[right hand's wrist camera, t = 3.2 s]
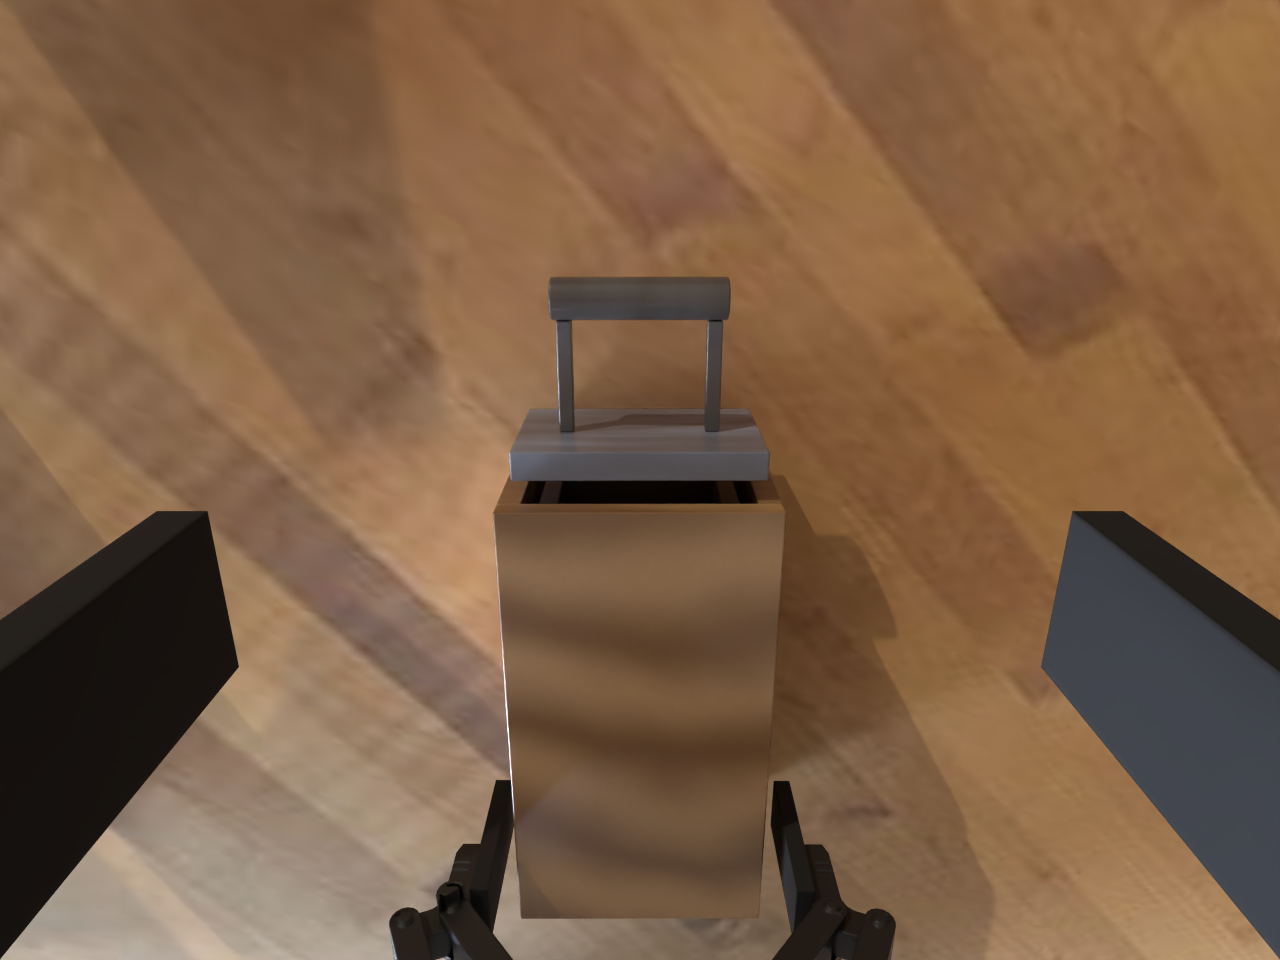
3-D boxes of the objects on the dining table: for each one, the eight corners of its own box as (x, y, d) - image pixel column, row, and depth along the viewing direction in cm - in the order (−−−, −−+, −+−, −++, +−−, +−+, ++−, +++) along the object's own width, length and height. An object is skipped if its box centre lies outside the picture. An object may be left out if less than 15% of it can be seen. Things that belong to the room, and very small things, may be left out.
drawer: (522, 267, 35) (498, 286, 29) (756, 267, 35) (779, 286, 29) (546, 757, 44) (532, 847, 38) (732, 757, 44) (747, 847, 38)
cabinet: (521, 445, 39) (492, 512, 31) (757, 445, 39) (786, 512, 31) (540, 794, 46) (520, 919, 38) (738, 794, 46) (758, 919, 38)
